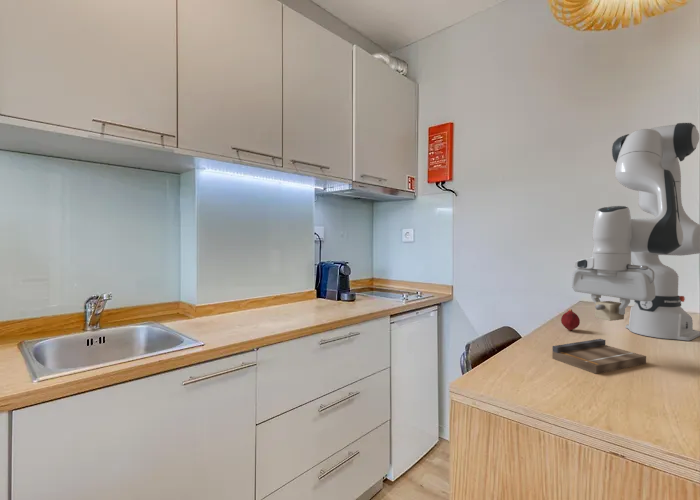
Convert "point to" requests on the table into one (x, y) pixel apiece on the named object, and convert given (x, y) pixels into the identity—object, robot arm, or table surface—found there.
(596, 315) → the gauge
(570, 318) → the onion
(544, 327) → the table surface
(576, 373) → the table surface
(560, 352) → the board
